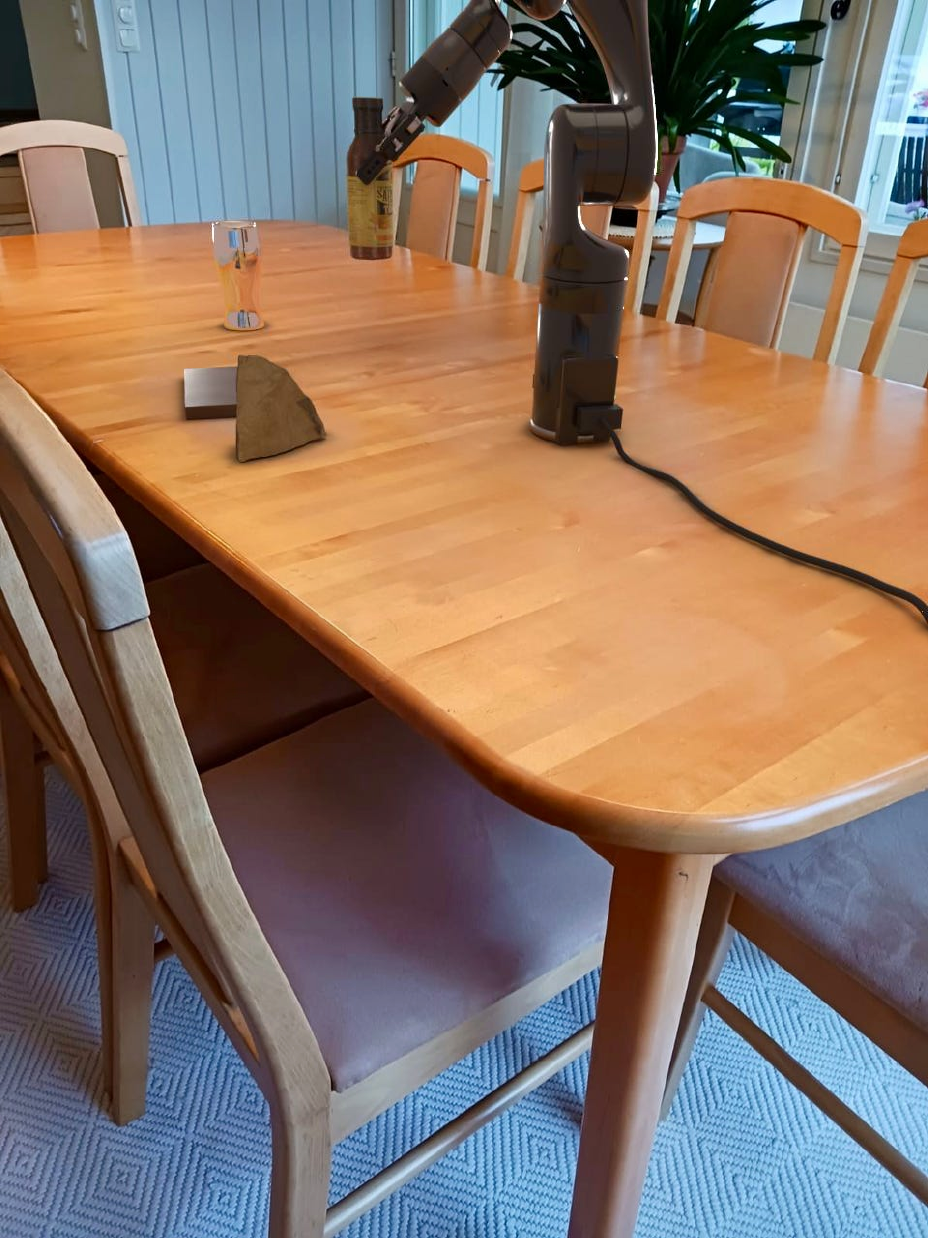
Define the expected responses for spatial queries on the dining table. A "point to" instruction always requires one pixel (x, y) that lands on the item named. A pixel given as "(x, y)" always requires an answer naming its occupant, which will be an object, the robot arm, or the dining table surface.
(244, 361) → the rock
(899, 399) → the dining table surface
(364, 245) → the sauce bottle
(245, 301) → the beer glass
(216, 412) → the metal block
